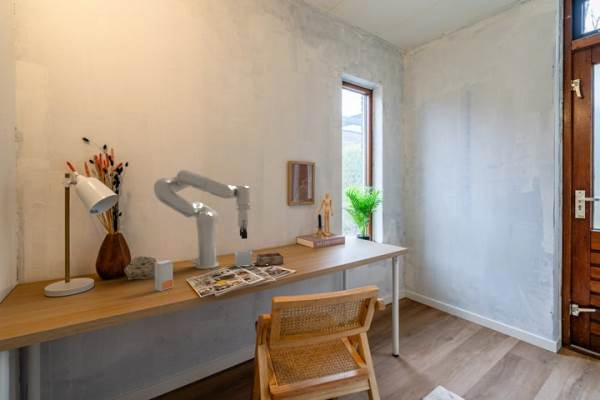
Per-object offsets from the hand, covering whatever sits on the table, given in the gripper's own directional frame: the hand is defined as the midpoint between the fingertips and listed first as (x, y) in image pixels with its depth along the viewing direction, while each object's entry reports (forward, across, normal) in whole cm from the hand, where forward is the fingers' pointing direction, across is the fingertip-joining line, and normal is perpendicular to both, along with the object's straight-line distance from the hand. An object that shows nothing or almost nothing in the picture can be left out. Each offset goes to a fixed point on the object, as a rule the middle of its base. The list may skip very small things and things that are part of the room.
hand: (243, 237), depth 156 cm
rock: (+17, +1, -52) cm, 54 cm away
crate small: (+16, 0, 0) cm, 16 cm away
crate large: (+16, 0, +15) cm, 22 cm away
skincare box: (+16, +27, -37) cm, 49 cm away
